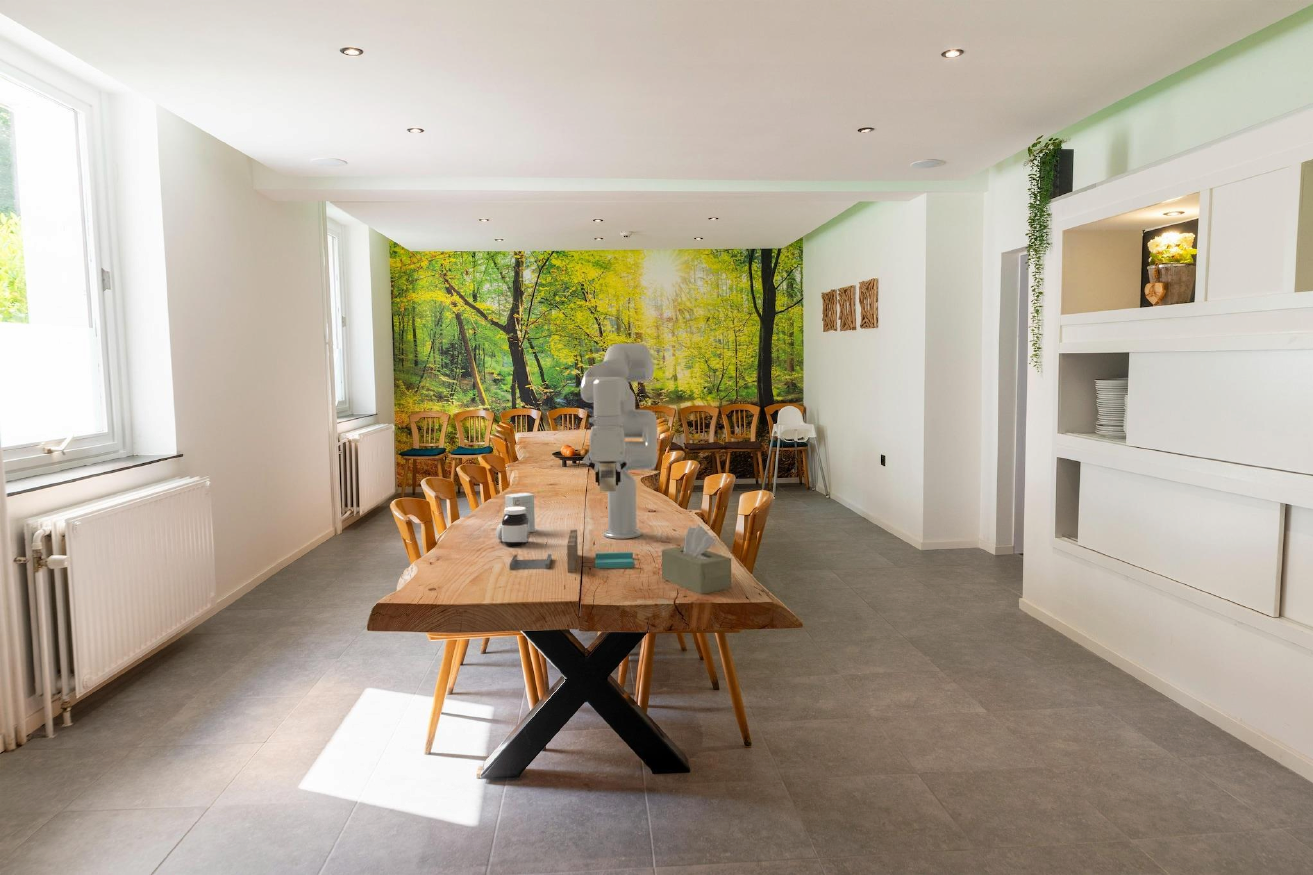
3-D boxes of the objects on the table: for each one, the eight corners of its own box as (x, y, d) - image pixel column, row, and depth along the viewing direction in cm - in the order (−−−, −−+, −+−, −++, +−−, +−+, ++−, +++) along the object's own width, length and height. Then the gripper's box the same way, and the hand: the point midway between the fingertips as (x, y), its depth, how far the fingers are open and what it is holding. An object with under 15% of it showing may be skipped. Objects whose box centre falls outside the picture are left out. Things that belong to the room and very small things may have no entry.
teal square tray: (595, 568, 231) (594, 562, 231) (595, 558, 242) (595, 552, 242) (633, 567, 231) (633, 561, 231) (632, 558, 242) (632, 552, 242)
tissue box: (732, 589, 210) (732, 528, 208) (701, 595, 205) (701, 533, 203) (690, 573, 226) (690, 516, 224) (661, 578, 221) (660, 521, 219)
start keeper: (514, 560, 240) (514, 554, 240) (551, 559, 241) (551, 554, 241) (509, 570, 230) (509, 564, 229) (548, 569, 230) (548, 563, 230)
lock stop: (599, 491, 231) (599, 463, 230) (601, 488, 237) (600, 460, 237) (615, 491, 231) (614, 463, 230) (616, 487, 237) (616, 460, 237)
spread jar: (522, 548, 257) (521, 511, 256) (488, 547, 259) (487, 510, 258) (534, 539, 269) (533, 504, 267) (501, 538, 270) (500, 504, 269)
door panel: (571, 555, 246) (570, 529, 245) (577, 555, 246) (577, 529, 245) (567, 573, 226) (567, 545, 225) (574, 573, 226) (574, 544, 225)
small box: (526, 528, 285) (525, 492, 284) (535, 531, 280) (534, 494, 279) (505, 531, 281) (504, 494, 279) (514, 535, 276) (513, 497, 274)
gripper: (576, 423, 229) (577, 487, 231) (636, 422, 229) (637, 486, 231) (578, 421, 236) (580, 483, 238) (636, 420, 236) (637, 482, 238)
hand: (608, 484), depth 234 cm, fingers closed on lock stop, 4 cm apart
